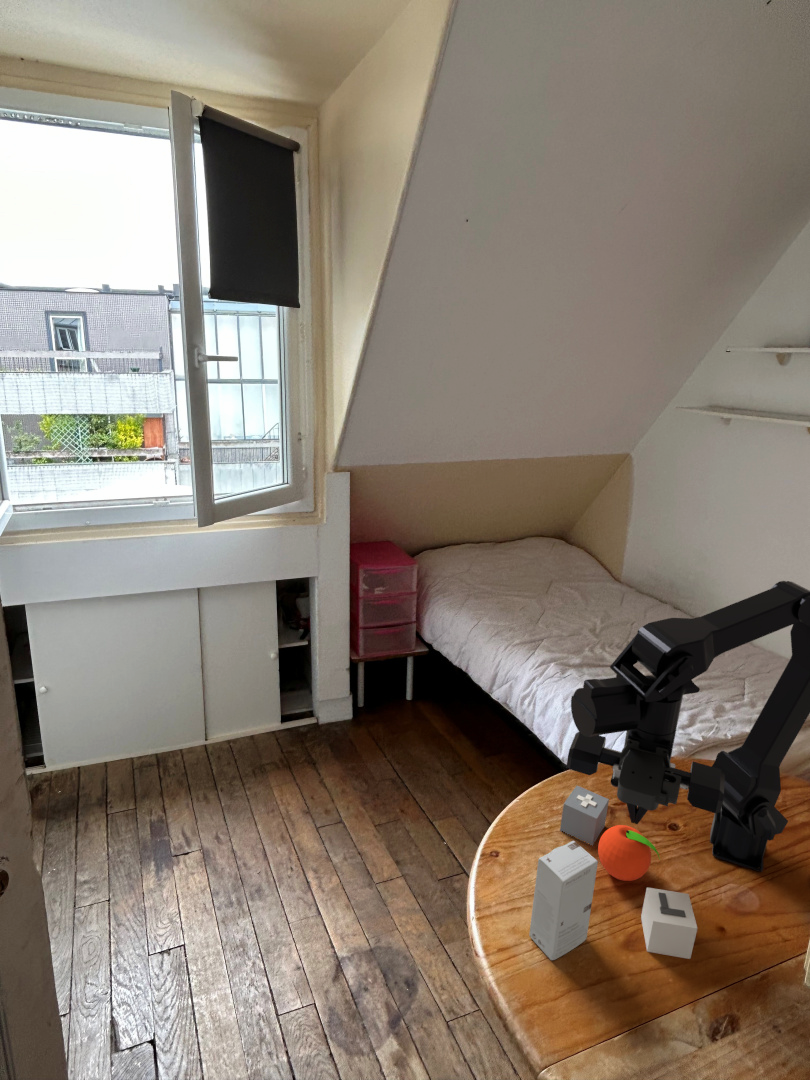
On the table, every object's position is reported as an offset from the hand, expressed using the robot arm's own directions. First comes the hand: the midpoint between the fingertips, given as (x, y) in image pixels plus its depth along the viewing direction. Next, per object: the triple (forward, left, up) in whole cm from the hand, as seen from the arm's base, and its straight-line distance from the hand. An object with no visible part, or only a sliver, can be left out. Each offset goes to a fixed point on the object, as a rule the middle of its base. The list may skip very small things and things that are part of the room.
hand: (634, 821), depth 91 cm
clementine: (0, 0, -9) cm, 9 cm away
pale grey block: (-6, +8, -9) cm, 14 cm away
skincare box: (+6, +14, -9) cm, 18 cm away
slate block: (+7, -6, -9) cm, 13 cm away
